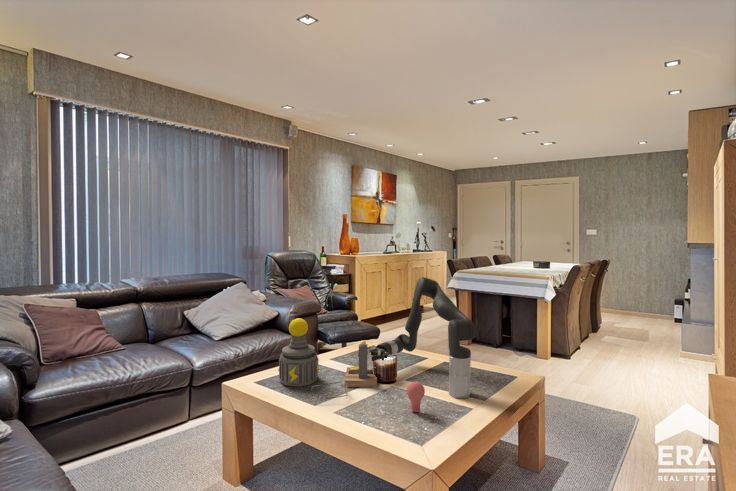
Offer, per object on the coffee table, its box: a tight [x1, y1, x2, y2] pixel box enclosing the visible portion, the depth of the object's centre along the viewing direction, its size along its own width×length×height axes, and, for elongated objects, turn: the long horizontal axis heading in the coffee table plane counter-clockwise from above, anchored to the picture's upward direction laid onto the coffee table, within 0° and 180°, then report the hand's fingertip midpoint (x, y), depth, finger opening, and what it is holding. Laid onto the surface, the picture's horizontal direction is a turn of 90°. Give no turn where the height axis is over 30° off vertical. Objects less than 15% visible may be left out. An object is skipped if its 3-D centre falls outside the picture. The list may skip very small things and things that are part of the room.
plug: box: [358, 340, 369, 378], centre depth 202 cm, size 4×4×17 cm
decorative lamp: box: [278, 317, 320, 388], centre depth 205 cm, size 19×19×30 cm
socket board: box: [343, 366, 378, 388], centre depth 207 cm, size 18×15×3 cm
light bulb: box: [406, 381, 426, 413], centre depth 172 cm, size 7×7×12 cm
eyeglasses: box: [311, 379, 349, 405], centre depth 188 cm, size 16×15×5 cm
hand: (365, 357), depth 203 cm, fingers open, 8 cm apart
